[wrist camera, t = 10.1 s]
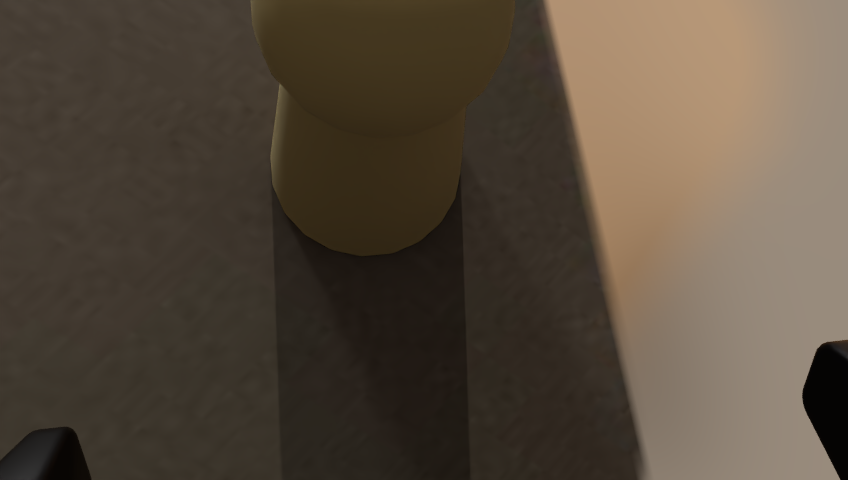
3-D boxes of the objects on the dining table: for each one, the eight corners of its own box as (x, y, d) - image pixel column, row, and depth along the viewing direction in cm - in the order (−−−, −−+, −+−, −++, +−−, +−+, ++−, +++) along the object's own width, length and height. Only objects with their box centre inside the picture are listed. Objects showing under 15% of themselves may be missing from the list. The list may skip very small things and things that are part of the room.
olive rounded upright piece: (483, 230, 24) (600, 70, 13) (295, 277, 23) (258, 145, 12) (431, 60, 25) (500, -212, 14) (250, 97, 24) (181, -165, 13)
